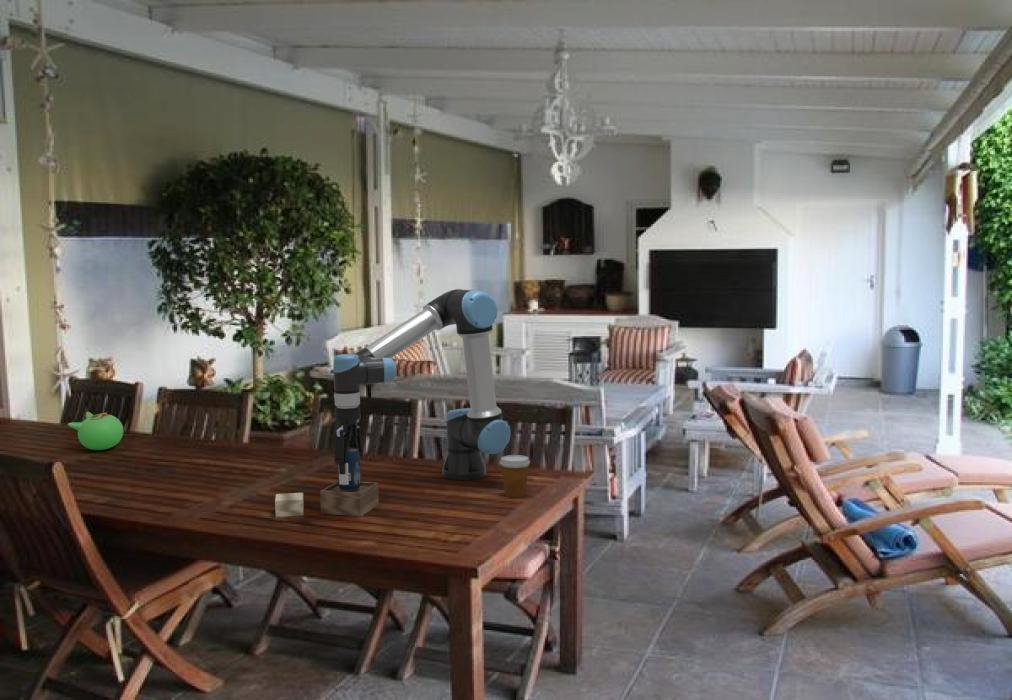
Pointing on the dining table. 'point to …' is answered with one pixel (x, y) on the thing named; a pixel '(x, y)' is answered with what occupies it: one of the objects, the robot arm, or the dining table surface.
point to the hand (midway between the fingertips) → (349, 481)
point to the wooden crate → (349, 499)
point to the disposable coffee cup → (515, 474)
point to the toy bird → (98, 431)
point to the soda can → (352, 470)
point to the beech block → (289, 504)
